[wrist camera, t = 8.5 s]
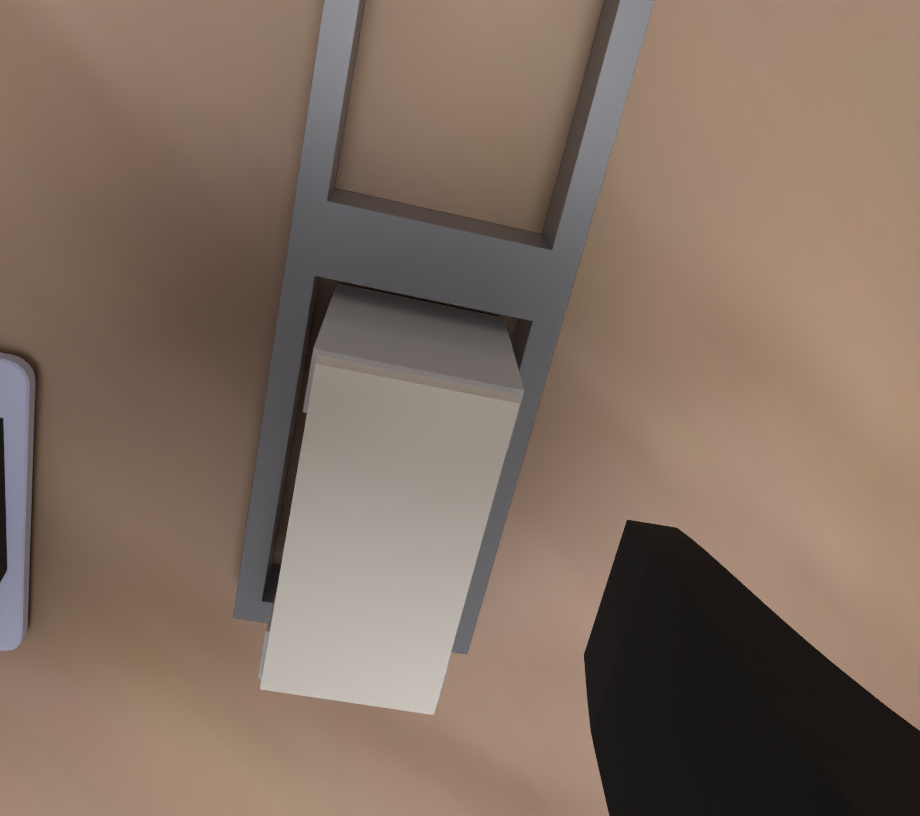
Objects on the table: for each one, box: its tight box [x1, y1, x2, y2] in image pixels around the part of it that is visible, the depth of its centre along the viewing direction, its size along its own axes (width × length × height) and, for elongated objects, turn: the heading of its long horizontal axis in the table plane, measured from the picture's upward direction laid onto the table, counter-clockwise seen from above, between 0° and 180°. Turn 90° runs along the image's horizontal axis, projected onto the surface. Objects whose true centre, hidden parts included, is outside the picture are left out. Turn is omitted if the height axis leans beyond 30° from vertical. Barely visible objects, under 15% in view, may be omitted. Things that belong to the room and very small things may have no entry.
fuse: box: [258, 283, 524, 715], centre depth 18 cm, size 4×7×5 cm, turn 167°
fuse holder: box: [233, 0, 654, 654], centre depth 16 cm, size 6×28×2 cm, turn 167°
